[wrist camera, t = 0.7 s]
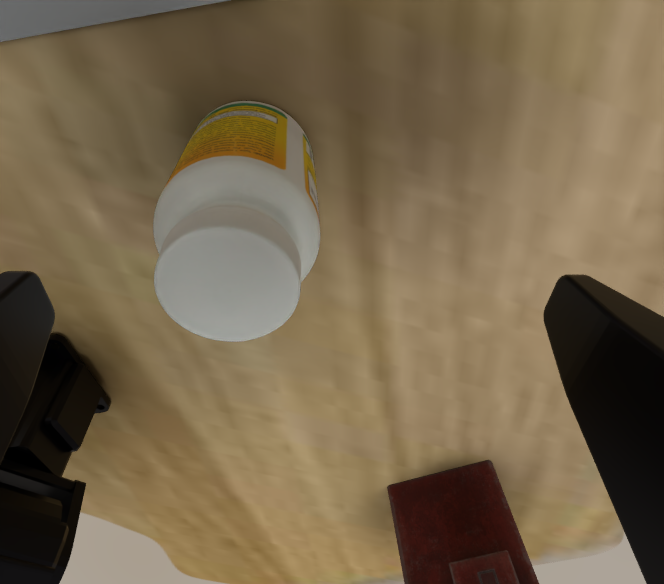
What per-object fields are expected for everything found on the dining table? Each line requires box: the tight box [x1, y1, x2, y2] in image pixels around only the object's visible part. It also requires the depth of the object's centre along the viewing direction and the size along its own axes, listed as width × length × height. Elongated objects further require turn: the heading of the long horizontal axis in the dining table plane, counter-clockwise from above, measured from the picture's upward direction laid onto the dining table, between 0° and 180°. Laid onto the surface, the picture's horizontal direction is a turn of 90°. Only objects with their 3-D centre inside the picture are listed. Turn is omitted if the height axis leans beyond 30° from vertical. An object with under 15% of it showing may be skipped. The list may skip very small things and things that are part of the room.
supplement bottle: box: [153, 101, 320, 342], centre depth 16 cm, size 5×5×10 cm
